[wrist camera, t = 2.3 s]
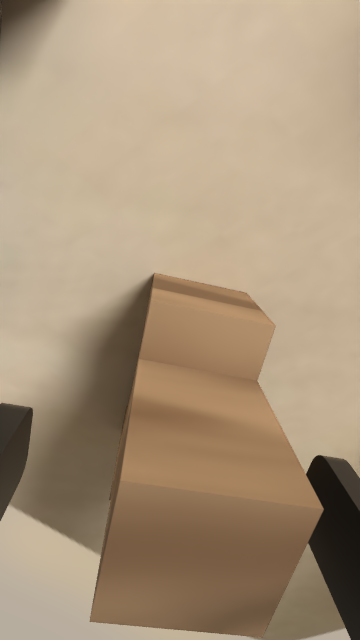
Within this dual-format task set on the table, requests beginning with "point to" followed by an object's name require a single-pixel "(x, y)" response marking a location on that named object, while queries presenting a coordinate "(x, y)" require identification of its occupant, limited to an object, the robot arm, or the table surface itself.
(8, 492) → the robot arm
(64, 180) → the table surface
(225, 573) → the tan stepped block
